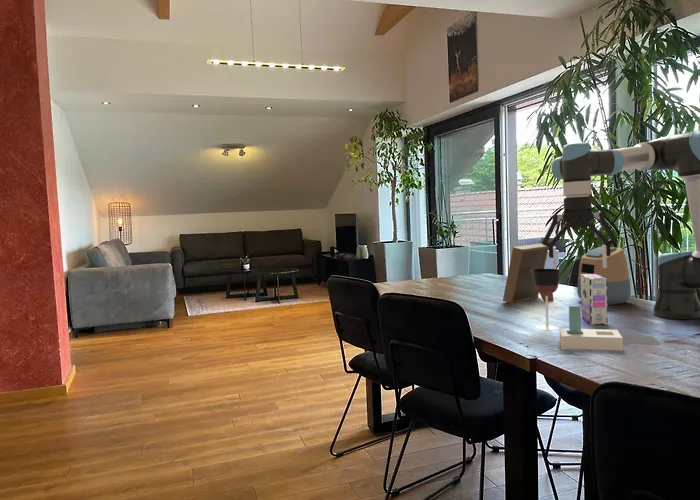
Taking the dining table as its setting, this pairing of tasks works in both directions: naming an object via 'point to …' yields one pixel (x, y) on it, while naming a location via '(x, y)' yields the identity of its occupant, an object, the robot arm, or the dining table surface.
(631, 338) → the mat
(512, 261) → the photo frame
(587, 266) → the tan and grey appliance
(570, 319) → the peg
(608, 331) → the hole block
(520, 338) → the dining table surface
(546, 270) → the wineglass
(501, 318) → the dining table surface
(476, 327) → the dining table surface
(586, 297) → the candy box
